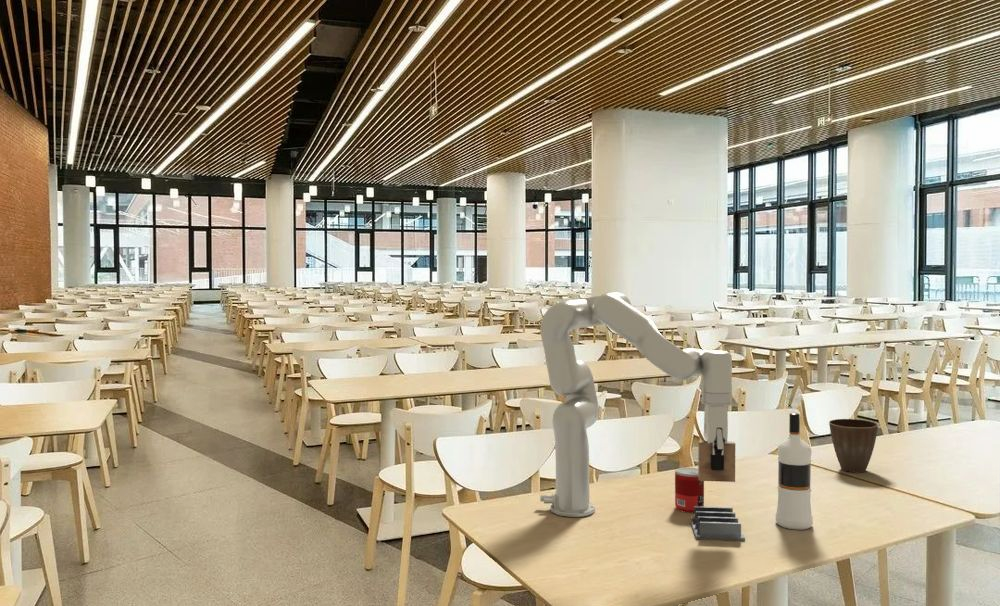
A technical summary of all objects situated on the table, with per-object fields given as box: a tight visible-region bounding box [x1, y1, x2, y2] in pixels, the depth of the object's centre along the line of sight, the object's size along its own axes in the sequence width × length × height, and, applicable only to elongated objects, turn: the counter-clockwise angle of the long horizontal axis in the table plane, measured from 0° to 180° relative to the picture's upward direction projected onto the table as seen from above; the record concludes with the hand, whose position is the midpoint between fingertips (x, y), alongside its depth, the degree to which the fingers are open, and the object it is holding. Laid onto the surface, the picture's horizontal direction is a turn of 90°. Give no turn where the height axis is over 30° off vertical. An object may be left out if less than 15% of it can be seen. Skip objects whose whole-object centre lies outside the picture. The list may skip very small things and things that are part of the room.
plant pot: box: [828, 418, 879, 473], centre depth 255 cm, size 15×15×16 cm
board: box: [697, 440, 736, 483], centre depth 197 cm, size 9×2×10 cm, turn 82°
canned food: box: [674, 467, 705, 514], centre depth 216 cm, size 8×8×11 cm
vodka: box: [775, 412, 814, 531], centre depth 201 cm, size 9×9×30 cm
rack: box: [689, 506, 746, 542], centre depth 198 cm, size 12×13×4 cm
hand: (716, 468), depth 197 cm, fingers closed on board, 2 cm apart
